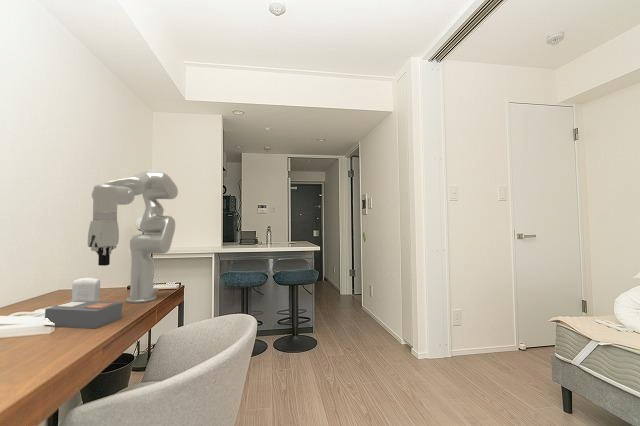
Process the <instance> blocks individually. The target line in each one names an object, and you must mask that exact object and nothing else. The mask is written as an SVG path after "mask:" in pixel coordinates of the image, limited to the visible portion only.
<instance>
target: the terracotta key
mask: <svg viewBox="0 0 640 426" xmlns="http://www.w3.org/2000/svg"><path fill="white" fill-rule="evenodd" d="M110 305H113V304H112V303H97V304H94V305H90V306H87V307H85V308H93V309H101V308H104V307H107V306H110Z"/></svg>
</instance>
